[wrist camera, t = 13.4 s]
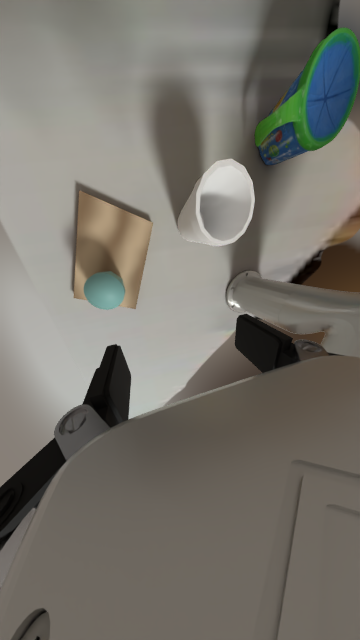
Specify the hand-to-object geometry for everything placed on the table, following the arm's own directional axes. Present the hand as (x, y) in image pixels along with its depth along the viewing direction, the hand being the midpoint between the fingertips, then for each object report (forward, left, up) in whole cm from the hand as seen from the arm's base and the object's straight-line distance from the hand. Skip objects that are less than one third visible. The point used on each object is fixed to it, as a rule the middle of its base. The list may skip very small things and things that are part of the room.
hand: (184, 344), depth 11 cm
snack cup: (-18, -35, -26) cm, 47 cm away
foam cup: (-6, -15, -26) cm, 30 cm away
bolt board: (+8, -3, -25) cm, 27 cm away
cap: (+8, +2, -23) cm, 24 cm away
